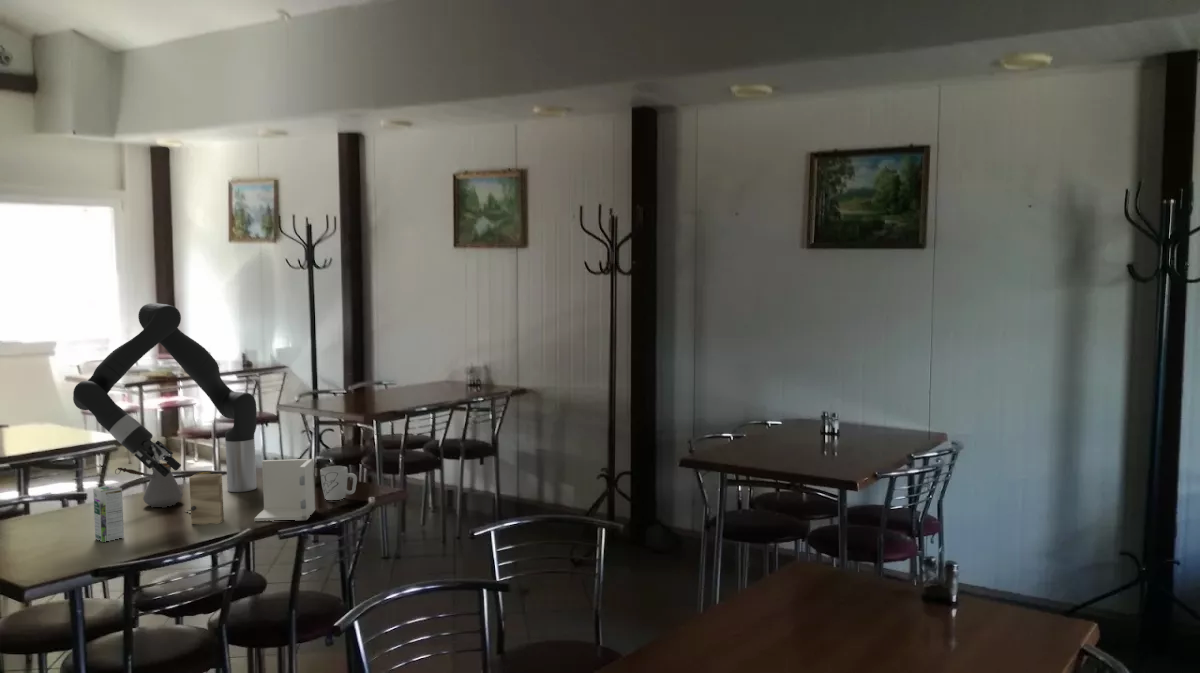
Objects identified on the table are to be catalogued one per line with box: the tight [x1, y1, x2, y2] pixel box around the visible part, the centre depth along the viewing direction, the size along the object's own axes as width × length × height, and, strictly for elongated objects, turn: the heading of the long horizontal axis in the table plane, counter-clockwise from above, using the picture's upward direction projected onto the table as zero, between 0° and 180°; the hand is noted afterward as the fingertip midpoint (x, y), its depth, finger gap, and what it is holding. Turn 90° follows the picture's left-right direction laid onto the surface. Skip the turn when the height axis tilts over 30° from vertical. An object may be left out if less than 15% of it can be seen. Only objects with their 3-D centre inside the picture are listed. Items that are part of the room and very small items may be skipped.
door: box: [188, 473, 225, 525], centre depth 276 cm, size 5×8×14 cm, turn 95°
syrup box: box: [92, 485, 125, 543], centre depth 260 cm, size 6×6×14 cm
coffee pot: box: [114, 462, 184, 508], centre depth 294 cm, size 21×12×15 cm, turn 153°
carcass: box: [254, 458, 316, 522], centre depth 281 cm, size 14×15×16 cm
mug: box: [319, 465, 358, 501], centre depth 302 cm, size 11×8×10 cm
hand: (173, 471), depth 275 cm, fingers open, 8 cm apart
